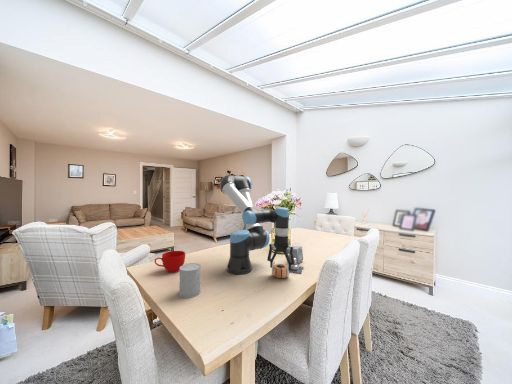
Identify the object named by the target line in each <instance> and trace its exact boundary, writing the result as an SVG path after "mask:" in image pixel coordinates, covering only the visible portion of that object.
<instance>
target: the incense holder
mask: <svg viewBox="0 0 512 384" xmlns="http://www.w3.org/2000/svg"><path fill="white" fill-rule="evenodd" d="M292 246H293V254H294V258H296V264H301V263H302V261H303V260H304V254H303V246H302V245H292ZM287 252H288V255H289V258H290V260H291V255H290V250H289V248H287Z"/></svg>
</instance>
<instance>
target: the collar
mask: <svg viewBox="0 0 512 384" xmlns="http://www.w3.org/2000/svg"><path fill="white" fill-rule="evenodd" d="M279 264H280V263H276V264H275V265H274V266H273V274H272V276H273V277H275V278H277V279H286V278H288V277H287V265H288V264H283V263H281V264H282V265H283V268H279Z"/></svg>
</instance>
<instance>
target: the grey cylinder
mask: <svg viewBox="0 0 512 384" xmlns="http://www.w3.org/2000/svg"><path fill="white" fill-rule="evenodd" d="M201 270H202V269H201V264H199V263H196V262H195V263H194V262H193V263H184V264H183V265H182V266H180V270H179V296H180V297H181V298H184V299H190V298H194V297H197V296H199V294H201V292H202V291H201Z"/></svg>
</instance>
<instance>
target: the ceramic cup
mask: <svg viewBox="0 0 512 384" xmlns="http://www.w3.org/2000/svg"><path fill="white" fill-rule="evenodd" d="M185 259H186V252H185V251H183V250H169V251H166V252H164V253H162V256H161V257H158V256H157V257H156V258H155V259H154V264H155V265H156V266H158V267H164V269H165V270H166V271H167V272H168V273H177V272H180V266H182V265H185ZM157 260H161V262H162V264H159V263H157Z"/></svg>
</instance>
